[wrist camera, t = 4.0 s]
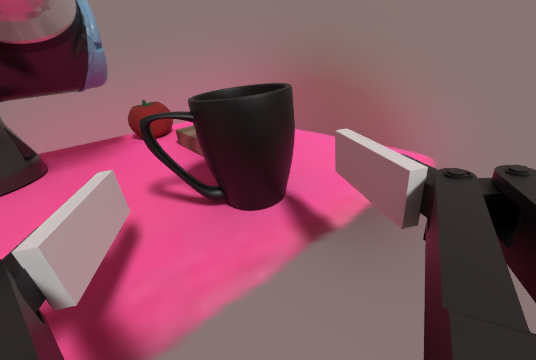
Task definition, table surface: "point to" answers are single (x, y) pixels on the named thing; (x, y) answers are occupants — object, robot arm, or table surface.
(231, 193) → the mug
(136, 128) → the tomato
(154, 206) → the table surface
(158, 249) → the table surface
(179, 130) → the wooden coaster block
